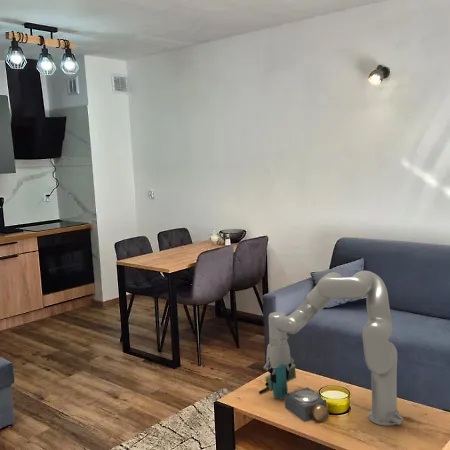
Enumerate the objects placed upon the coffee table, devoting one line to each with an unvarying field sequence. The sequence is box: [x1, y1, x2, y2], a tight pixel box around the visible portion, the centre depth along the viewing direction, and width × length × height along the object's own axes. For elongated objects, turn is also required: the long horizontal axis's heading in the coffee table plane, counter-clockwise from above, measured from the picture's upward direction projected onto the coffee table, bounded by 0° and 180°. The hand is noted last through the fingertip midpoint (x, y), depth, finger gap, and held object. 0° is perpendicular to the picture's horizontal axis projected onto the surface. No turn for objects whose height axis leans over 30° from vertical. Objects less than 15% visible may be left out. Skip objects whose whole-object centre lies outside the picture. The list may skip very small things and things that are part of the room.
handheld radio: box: [258, 363, 297, 395], centre depth 238 cm, size 7×3×25 cm
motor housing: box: [284, 387, 330, 423], centre depth 211 cm, size 18×12×6 cm, turn 27°
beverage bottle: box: [272, 364, 289, 399], centre depth 224 cm, size 6×7×20 cm
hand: (279, 380), depth 224 cm, fingers closed on beverage bottle, 5 cm apart
